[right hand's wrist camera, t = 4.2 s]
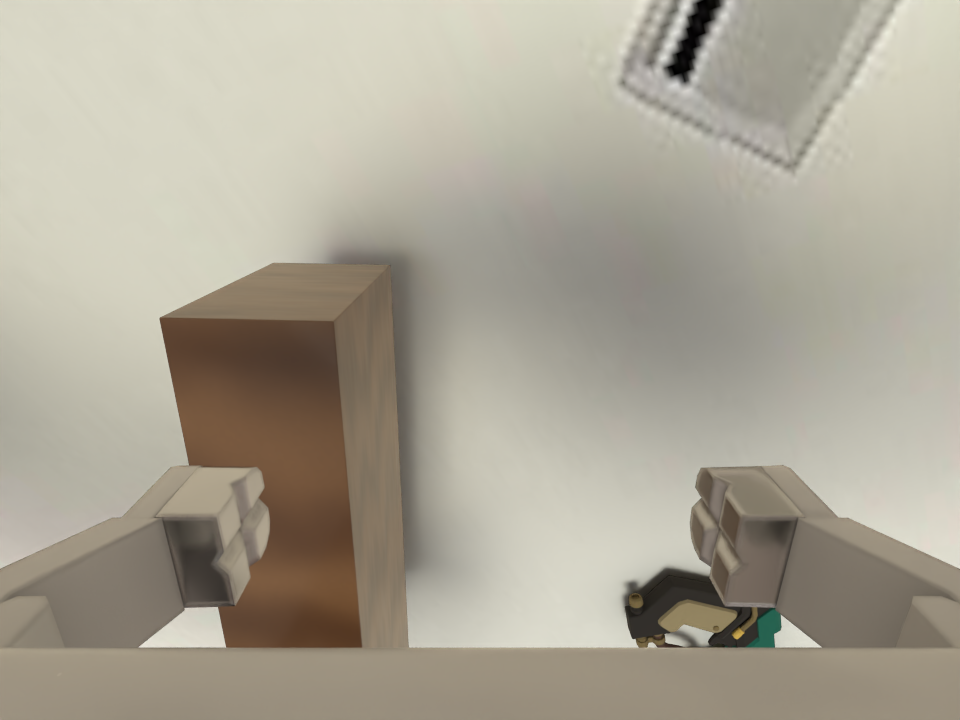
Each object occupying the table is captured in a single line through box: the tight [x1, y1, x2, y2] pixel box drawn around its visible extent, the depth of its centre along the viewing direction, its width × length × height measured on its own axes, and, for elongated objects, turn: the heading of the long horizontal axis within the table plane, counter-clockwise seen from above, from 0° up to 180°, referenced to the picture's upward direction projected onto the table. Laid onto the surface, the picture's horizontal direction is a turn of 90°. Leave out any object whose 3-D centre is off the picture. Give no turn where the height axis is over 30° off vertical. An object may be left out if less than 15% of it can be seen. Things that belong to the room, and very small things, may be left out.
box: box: [160, 263, 409, 648], centre depth 28 cm, size 26×6×10 cm, turn 179°
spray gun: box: [625, 575, 781, 648], centre depth 44 cm, size 4×17×15 cm
